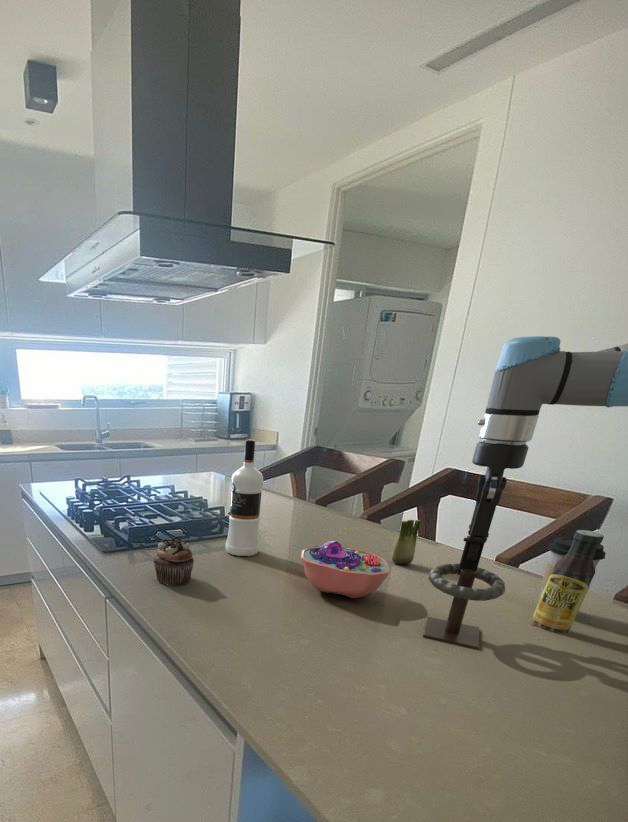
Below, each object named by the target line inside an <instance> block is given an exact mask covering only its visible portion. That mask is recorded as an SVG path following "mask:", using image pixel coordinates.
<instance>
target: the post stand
mask: <svg viewBox="0 0 628 822" xmlns="http://www.w3.org/2000/svg"><path fill="white" fill-rule="evenodd" d="M475 576H476V571H474V570H471V569H461V572H460V575H458V580H457V584H456V585H458V586H462V587H467V588H472V589H473V586H474V582H475V579H476V578H475ZM468 604H469V600H467V599H462V598H457V597H454V596H453V597H452V602H451V605H450V609H449V612H448V615H447V620H446V619H441V618H437V617H433V616H432V617H431V616H427V617H426V620H425V625H424V629H423V635H422V638H423V639H429V640H432V641H437V642H441V643H446V644H449V645H454V646H458V647H463V648H468V649H472V650H476V651H479V650H480V627H479V626H475V625H470V624H466V623H463V621H464V618H465V617H464V616H465V613H466V610H467V606H468Z"/></svg>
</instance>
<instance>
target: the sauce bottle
mask: <svg viewBox="0 0 628 822" xmlns="http://www.w3.org/2000/svg"><path fill="white" fill-rule="evenodd" d="M604 536H605V535H604V534H602V533H600V532H596V531H593V530H586V529H578V530H575V533H574V535H573V538H574V540H573V543H572V546H571V548H570V550H569V551H568V553H567V554H566V555H565V556H564V557H562V558H561V559H560V560H559V561H557V563H556V564H555V567H554V569H553V571H552V573H551V575H550V577H549V579H548V581H547V584H546V586H545V588H544V591H543V593H542V596H541V598H540V597H539V598H540V601H539V600H538V603H537V605H536V608H535V610H534V612H533V615H532V618H531V622H530V623H531V624H530V626H531V627H536V628H539V629H542V630H544V631H547V632H553V633H559V634H563V633H564V634H565V633H566V634H568V633H569V631H570V630H571V628H572V626H573V624H574V622H575V620H576V617H577V615H578V612H579V610H580V609H581V606H582V604H583V602H584V600H585V597H586V595H587V593H588V592H589V589H590V585H591V583H592V581H593V579H594V576H595V575H596V568H595V567H594V564H593V558H594V556H595V552H596V550H597V548H598V546H599V544H601V543H603V540H604Z"/></svg>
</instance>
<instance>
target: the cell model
mask: <svg viewBox="0 0 628 822" xmlns="http://www.w3.org/2000/svg"><path fill="white" fill-rule="evenodd" d="M300 559H301V561H302V563H303V564H302V565H303V571H304V574H305V577H306V579H307V580H308V582H309V583H310V585H311V586H312V587H313V588H314V589H315V590H317V591H320V592H324V593H326V594H334V595H335V594H336V595H341V596H345V597H346V598H350V599H359V598H363V597H365V596H367V595H370V594H372V593H374V592H376V591H377V590H378V589H379V588H380V587H381V585H383V583H384V582H385V580H386V579H387V577H388V576H389V575H390V573H391V571H392V570H391V568H390V565H389V564H388V563H387V561H386V560H385V559H384V558H382V557H380V556H378V555H377V554H374V553H372V552H369V551H366V550H360V549H355V548H349V547H343V546H342V544H341V543H340V542H339V541H336V540H331V541H328V542H324V544H323V545H314V546H311V547H308V548H305V549H303V550H301V554H300Z"/></svg>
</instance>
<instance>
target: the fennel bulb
mask: <svg viewBox="0 0 628 822" xmlns="http://www.w3.org/2000/svg"><path fill="white" fill-rule="evenodd" d="M421 521H422V520H420V519H407V520H401V522H400V529H399V533H398V538H397V540H396V542H395V545H394V549H393V552H392V557H391V561H392V562H393V563H394V564H396V565H403V566H405V565H406V566H407V565H410V564H411V563H412V562H413V560H414V557H415V550H416V546H417V544H416V543H417V537H418V534H419V528H420V525H421Z"/></svg>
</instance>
